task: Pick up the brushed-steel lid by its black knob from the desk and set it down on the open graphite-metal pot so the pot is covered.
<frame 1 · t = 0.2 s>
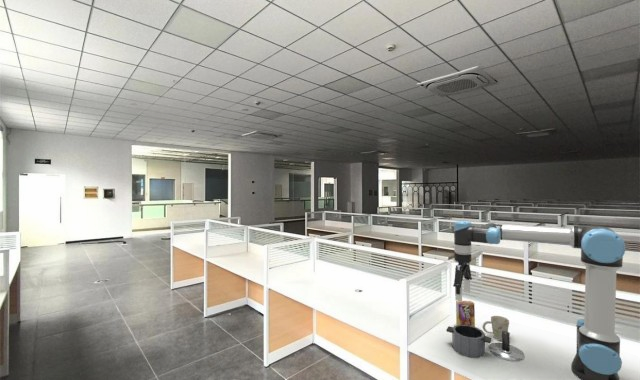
hand: (463, 296, 146), 27 cm above the table, fingers open, 13 cm apart
candy box: (465, 328, 169), on the table
lid: (505, 352, 145), on the table
mug: (495, 337, 159), on the table
pot: (468, 349, 148), on the table
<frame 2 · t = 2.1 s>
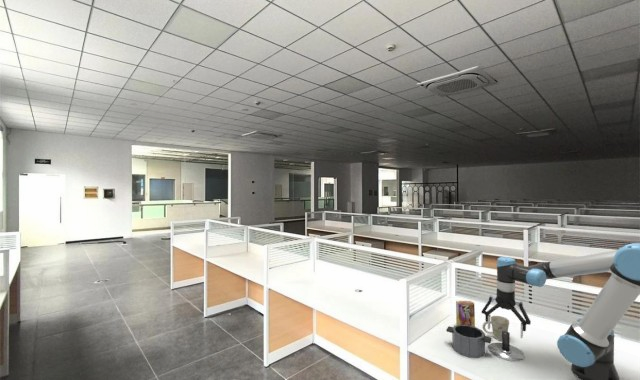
hand: (504, 332, 146), 9 cm above the table, fingers open, 13 cm apart
nothing on the table moved.
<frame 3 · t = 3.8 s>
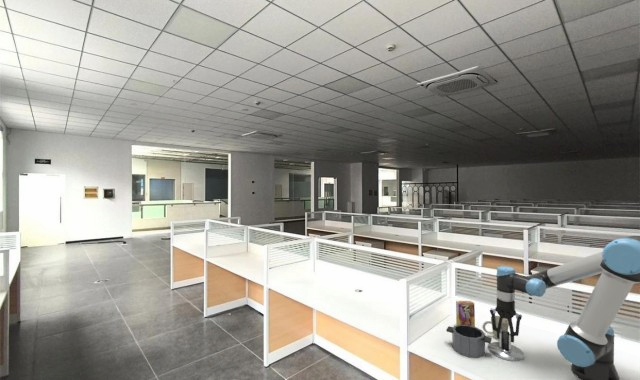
hand: (505, 346, 145), 3 cm above the table, fingers closed on lid, 3 cm apart
lid: (505, 352, 146), on the table, touching gripper
everything else where it was.
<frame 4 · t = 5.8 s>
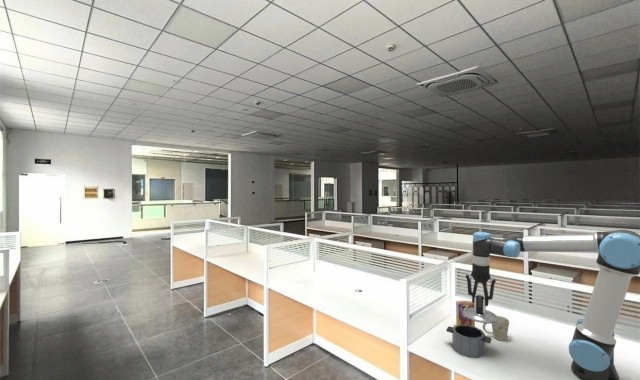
hand: (479, 310, 148), 19 cm above the table, fingers closed on lid, 3 cm apart
lid: (479, 316, 148), point 17 cm above the table, touching gripper
everything else where it was.
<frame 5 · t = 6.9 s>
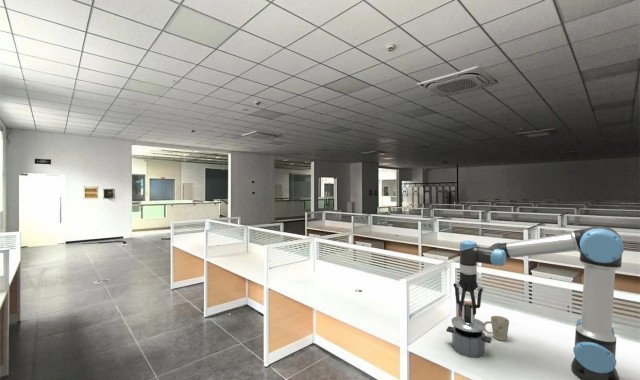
hand: (468, 319, 148), 15 cm above the table, fingers closed on lid, 3 cm apart
lid: (468, 324, 148), point 12 cm above the table, touching gripper
everything else where it was.
when the fingers open (13 cm above the table, at t = 7.8 s): lid drops 1 cm, resting on pot.
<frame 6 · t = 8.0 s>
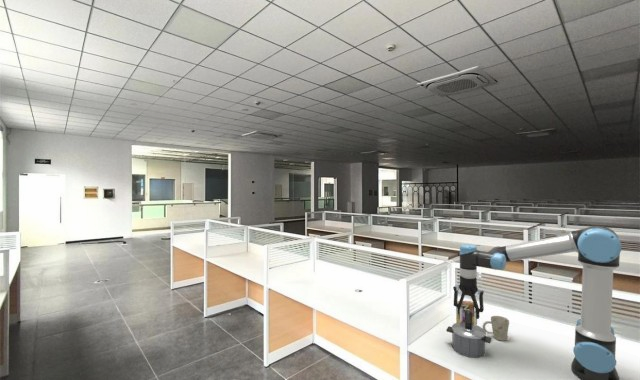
hand: (468, 322, 148), 13 cm above the table, fingers open, 6 cm apart
lid: (468, 331, 148), point 9 cm above the table, touching pot
everything else where it was.
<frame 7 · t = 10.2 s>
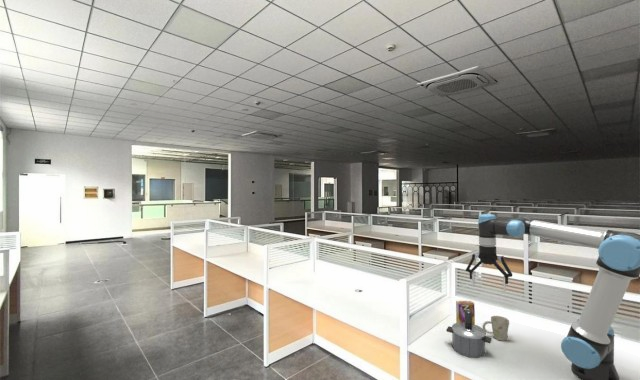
hand: (488, 287, 149), 30 cm above the table, fingers open, 13 cm apart
nothing on the table moved.
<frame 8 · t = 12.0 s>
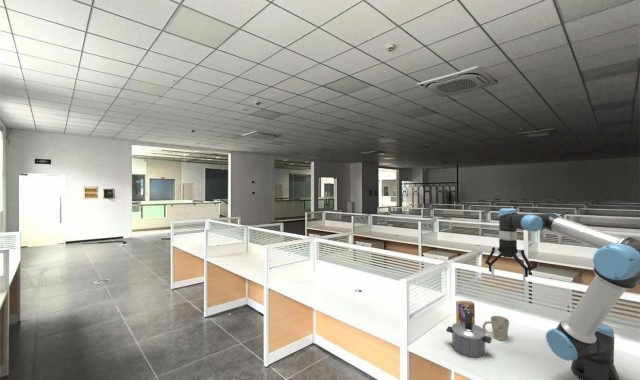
hand: (507, 280, 152), 33 cm above the table, fingers open, 13 cm apart
nothing on the table moved.
at the end: lid 0.1 cm off-centre on the pot, point 9.0 cm above the pot's base; lid tilted 0°; the gripper is holding nothing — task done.
